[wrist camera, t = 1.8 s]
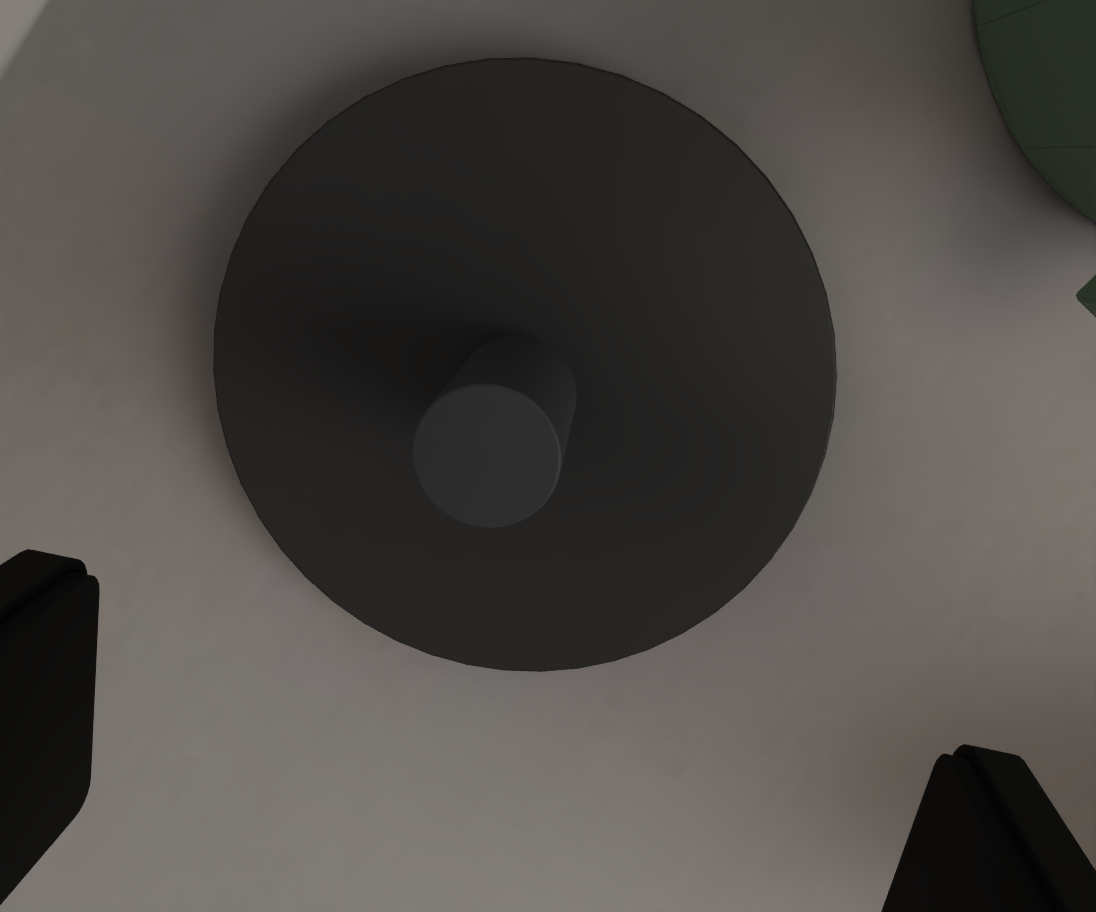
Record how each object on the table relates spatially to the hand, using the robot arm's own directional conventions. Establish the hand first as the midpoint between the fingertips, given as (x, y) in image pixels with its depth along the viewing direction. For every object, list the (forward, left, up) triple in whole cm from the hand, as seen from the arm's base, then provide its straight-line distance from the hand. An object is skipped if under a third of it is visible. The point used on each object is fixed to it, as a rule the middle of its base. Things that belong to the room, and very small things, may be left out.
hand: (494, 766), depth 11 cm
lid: (-2, 0, -13) cm, 14 cm away
